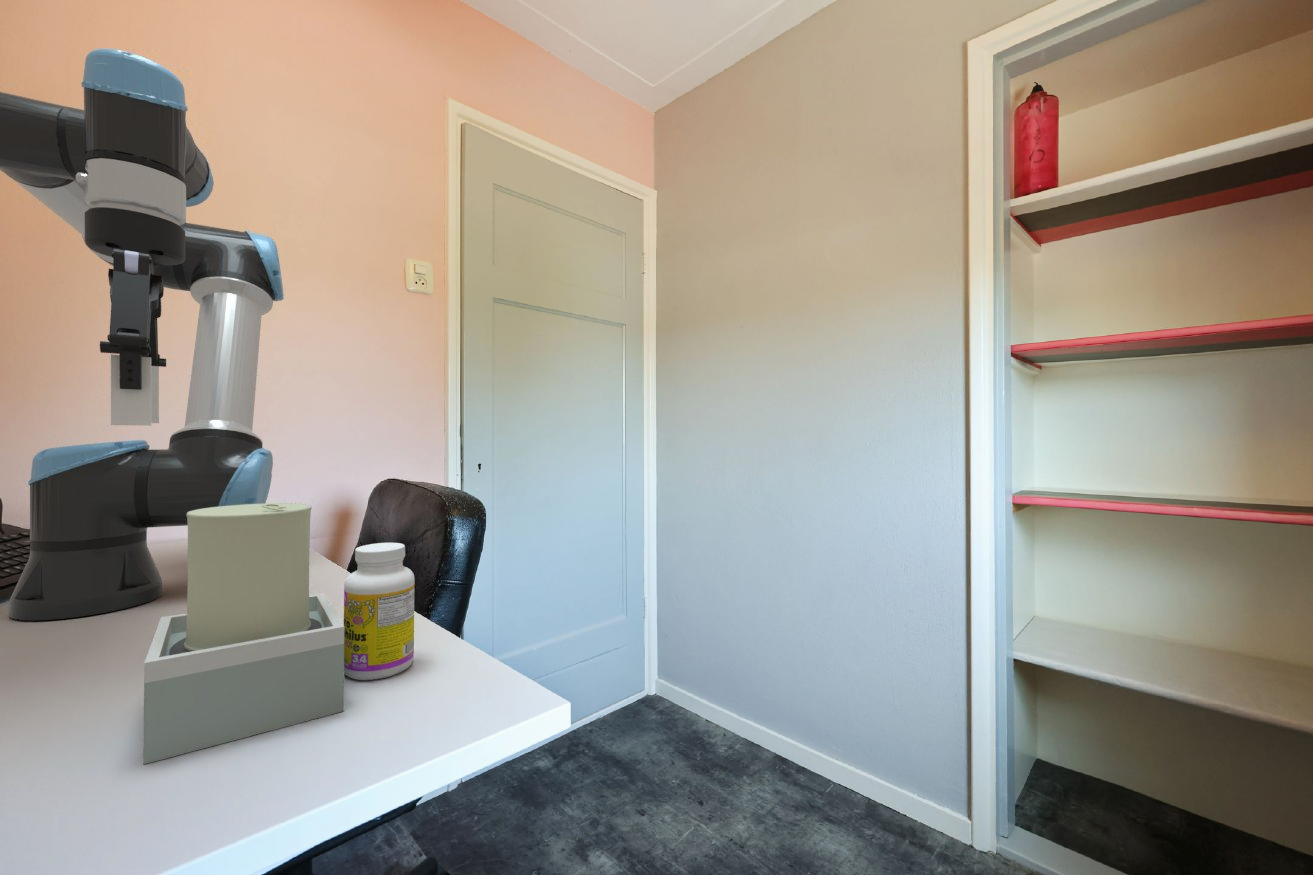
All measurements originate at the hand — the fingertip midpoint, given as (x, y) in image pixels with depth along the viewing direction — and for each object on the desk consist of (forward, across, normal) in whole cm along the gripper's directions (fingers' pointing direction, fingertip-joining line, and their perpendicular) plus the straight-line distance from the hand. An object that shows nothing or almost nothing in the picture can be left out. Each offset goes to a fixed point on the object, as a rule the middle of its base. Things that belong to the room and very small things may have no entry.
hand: (137, 424), depth 57 cm
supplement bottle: (+25, +16, +19) cm, 36 cm away
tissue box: (+25, +18, +8) cm, 32 cm away
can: (+19, +17, +8) cm, 27 cm away
